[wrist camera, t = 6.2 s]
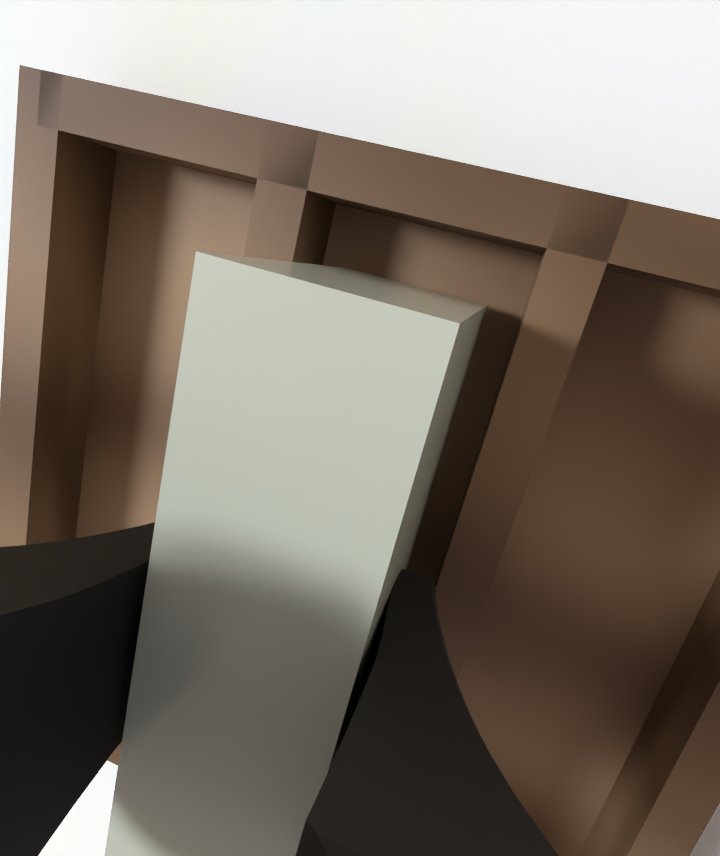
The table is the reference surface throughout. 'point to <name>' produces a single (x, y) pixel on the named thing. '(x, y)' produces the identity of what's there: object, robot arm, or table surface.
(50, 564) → the robot arm
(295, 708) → the clay strip
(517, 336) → the strip rack
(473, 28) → the table surface
